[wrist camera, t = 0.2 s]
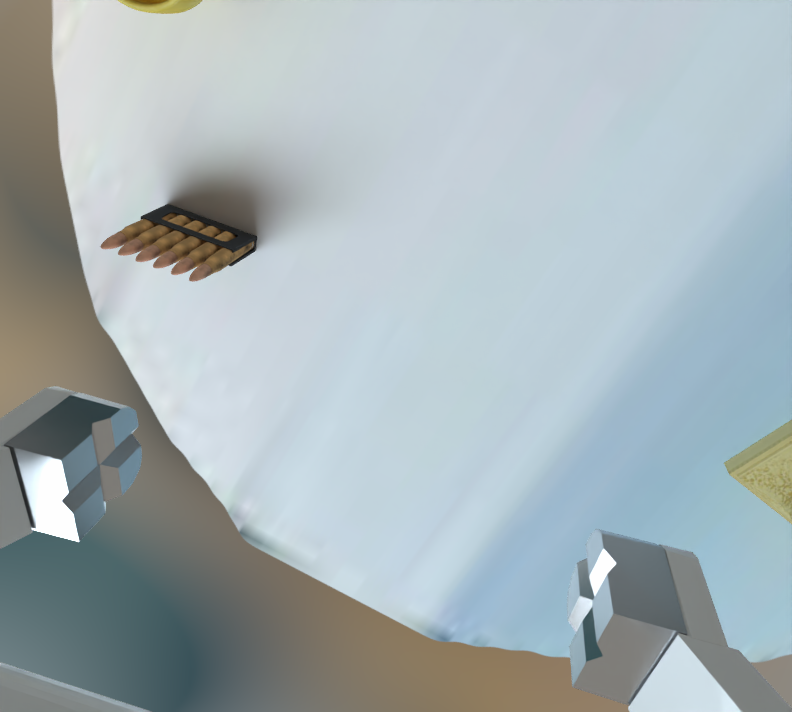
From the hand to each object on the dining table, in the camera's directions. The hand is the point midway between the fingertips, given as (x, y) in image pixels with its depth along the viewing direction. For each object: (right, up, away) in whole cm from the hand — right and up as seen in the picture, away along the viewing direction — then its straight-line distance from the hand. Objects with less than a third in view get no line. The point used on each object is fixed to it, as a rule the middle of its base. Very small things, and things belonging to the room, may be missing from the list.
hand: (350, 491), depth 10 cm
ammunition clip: (-19, +16, +51) cm, 57 cm away
